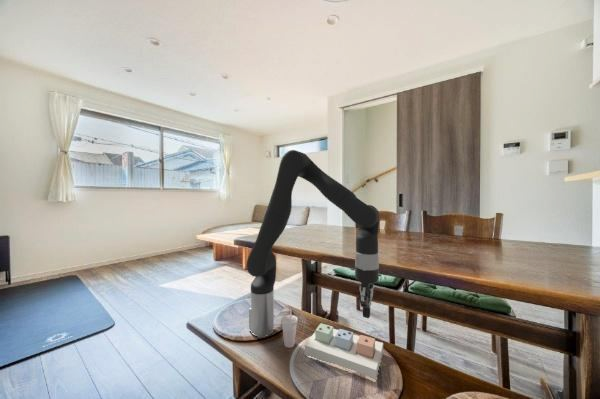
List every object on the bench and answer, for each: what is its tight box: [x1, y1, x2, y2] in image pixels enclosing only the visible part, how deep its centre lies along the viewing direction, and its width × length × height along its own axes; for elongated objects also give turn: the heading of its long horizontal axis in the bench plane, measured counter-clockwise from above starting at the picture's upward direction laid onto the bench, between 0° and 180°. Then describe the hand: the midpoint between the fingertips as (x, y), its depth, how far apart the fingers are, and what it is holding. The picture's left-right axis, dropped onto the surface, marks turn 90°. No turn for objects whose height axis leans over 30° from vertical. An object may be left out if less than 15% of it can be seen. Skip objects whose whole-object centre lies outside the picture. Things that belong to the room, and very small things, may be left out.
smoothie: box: [280, 307, 299, 349], centre depth 87 cm, size 6×6×14 cm
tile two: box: [314, 322, 334, 344], centre depth 85 cm, size 5×5×6 cm
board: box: [304, 328, 384, 380], centre depth 82 cm, size 24×14×4 cm, turn 62°
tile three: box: [335, 328, 354, 351], centre depth 81 cm, size 5×5×6 cm
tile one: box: [357, 334, 376, 359], centre depth 78 cm, size 5×5×6 cm
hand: (366, 316), depth 78 cm, fingers closed
